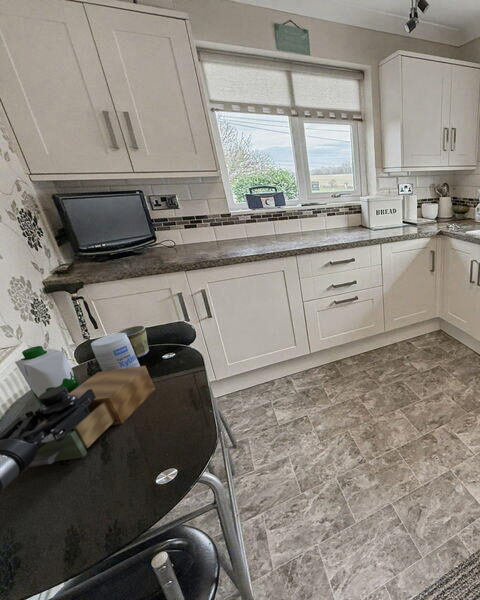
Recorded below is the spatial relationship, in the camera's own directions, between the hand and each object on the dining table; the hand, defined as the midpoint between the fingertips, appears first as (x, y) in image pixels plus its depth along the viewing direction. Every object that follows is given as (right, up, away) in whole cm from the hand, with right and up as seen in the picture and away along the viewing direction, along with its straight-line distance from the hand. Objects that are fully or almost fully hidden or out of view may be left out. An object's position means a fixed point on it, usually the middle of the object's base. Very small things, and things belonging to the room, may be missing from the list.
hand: (75, 396), depth 85 cm
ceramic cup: (-20, +4, +44) cm, 49 cm away
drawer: (+2, -11, -3) cm, 12 cm away
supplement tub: (-11, -2, +28) cm, 30 cm away
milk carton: (-16, -8, +14) cm, 22 cm away
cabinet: (+1, -7, +11) cm, 13 cm away
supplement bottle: (+2, -8, -2) cm, 9 cm away
